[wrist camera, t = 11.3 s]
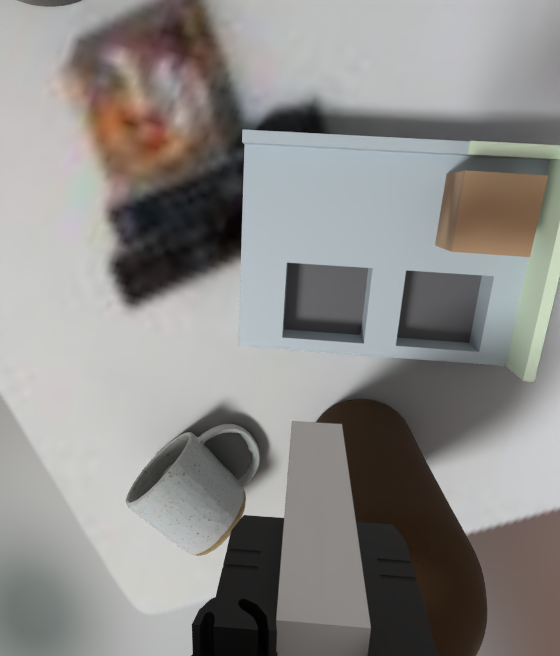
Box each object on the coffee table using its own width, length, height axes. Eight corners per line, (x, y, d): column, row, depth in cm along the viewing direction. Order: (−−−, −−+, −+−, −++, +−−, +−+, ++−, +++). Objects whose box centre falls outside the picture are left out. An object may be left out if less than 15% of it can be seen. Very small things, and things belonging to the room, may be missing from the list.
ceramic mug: (203, 519, 44) (182, 583, 37) (143, 464, 43) (109, 519, 35) (281, 457, 42) (277, 512, 34) (220, 397, 40) (202, 440, 33)
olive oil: (420, 390, 39) (603, 704, 15) (417, 494, 41) (563, 898, 18) (299, 393, 39) (282, 695, 15) (303, 494, 42) (296, 881, 18)
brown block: (446, 173, 31) (465, 170, 27) (518, 178, 31) (548, 175, 27) (434, 245, 33) (451, 251, 29) (504, 250, 32) (530, 257, 29)
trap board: (249, 136, 34) (238, 125, 28) (545, 152, 33) (591, 143, 27) (242, 336, 38) (232, 359, 33) (502, 355, 37) (534, 382, 32)
